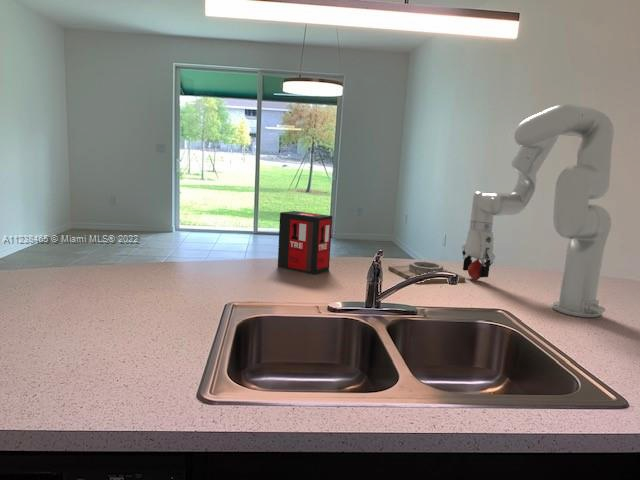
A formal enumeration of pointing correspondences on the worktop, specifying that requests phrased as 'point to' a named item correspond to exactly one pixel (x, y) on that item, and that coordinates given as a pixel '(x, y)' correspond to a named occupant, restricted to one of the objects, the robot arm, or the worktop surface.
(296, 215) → the cleaning product box
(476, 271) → the onion
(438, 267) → the cradle
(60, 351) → the worktop surface
